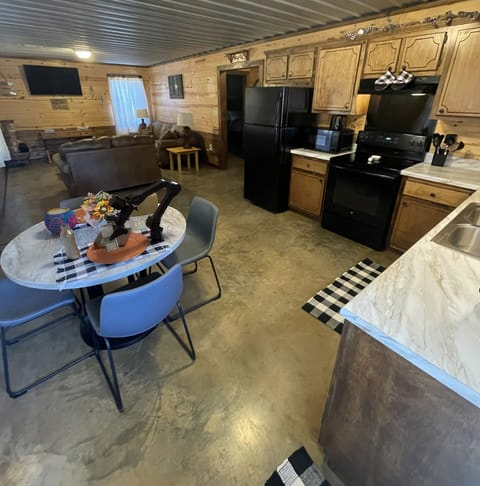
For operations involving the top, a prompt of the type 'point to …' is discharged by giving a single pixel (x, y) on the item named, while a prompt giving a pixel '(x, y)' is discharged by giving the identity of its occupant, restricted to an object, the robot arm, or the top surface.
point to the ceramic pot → (59, 219)
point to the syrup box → (108, 237)
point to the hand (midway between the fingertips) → (107, 238)
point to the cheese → (147, 206)
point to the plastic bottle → (69, 242)
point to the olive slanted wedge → (121, 239)
